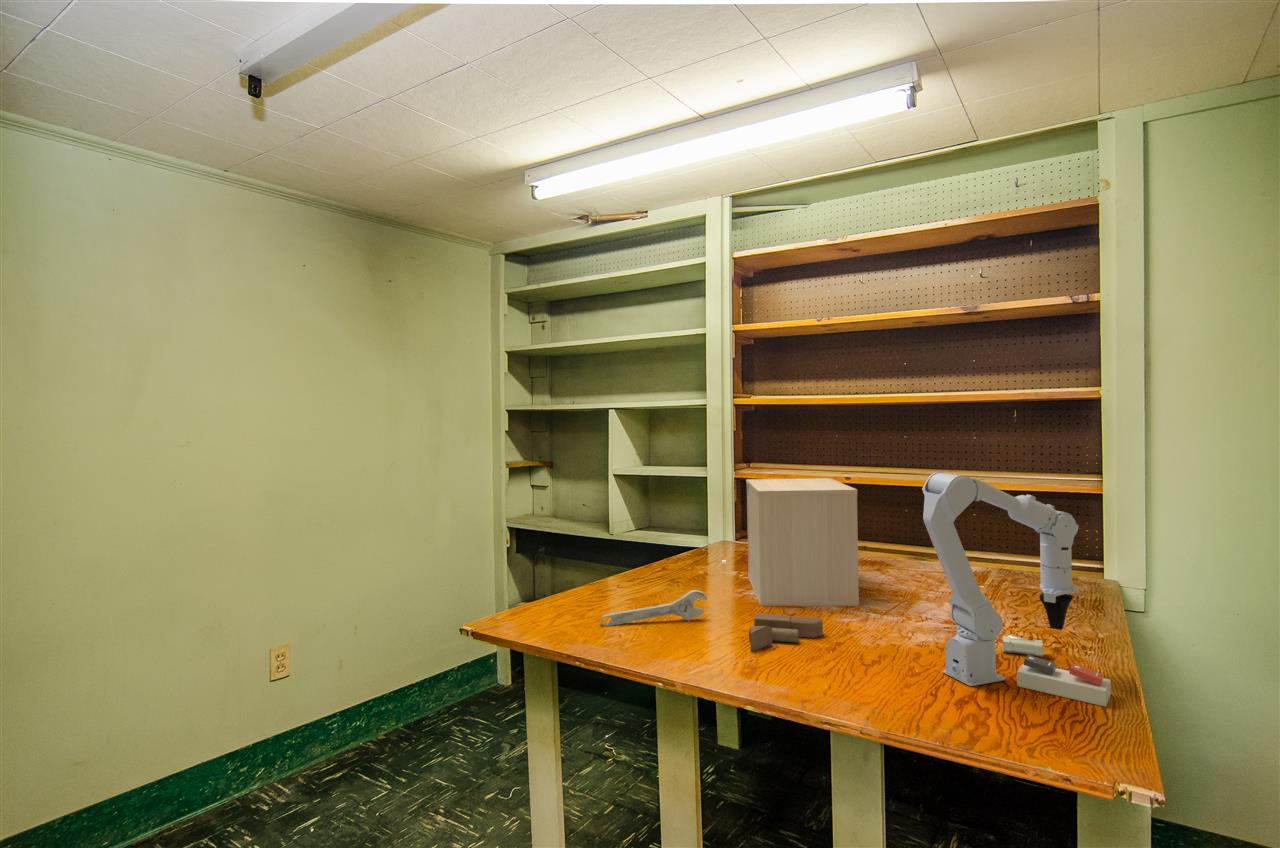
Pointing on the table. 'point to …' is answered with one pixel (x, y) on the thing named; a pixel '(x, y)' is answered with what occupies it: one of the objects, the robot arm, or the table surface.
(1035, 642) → the pipe fitting
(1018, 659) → the table surface
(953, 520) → the robot arm
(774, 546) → the beige wooden block
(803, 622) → the wooden block set
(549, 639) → the table surface
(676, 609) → the wrench
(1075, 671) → the red rocker
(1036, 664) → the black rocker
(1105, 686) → the rocker switch panel
